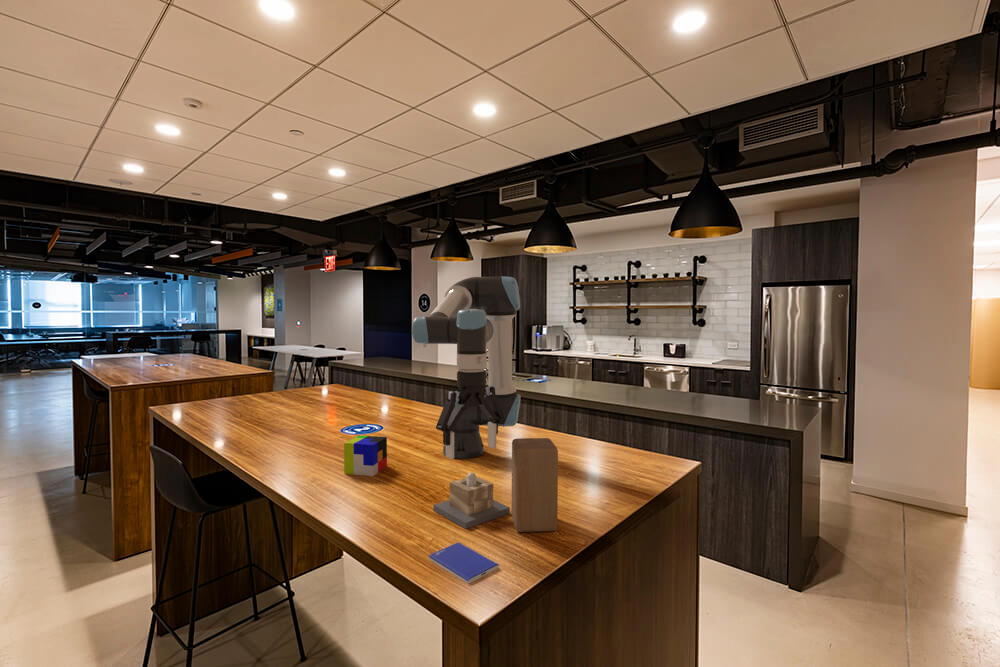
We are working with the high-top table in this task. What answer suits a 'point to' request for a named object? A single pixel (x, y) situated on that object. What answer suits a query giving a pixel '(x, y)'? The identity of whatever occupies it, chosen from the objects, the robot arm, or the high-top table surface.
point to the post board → (474, 518)
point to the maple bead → (471, 496)
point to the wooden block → (534, 484)
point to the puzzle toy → (365, 455)
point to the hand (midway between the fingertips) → (471, 452)
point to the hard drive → (463, 562)
